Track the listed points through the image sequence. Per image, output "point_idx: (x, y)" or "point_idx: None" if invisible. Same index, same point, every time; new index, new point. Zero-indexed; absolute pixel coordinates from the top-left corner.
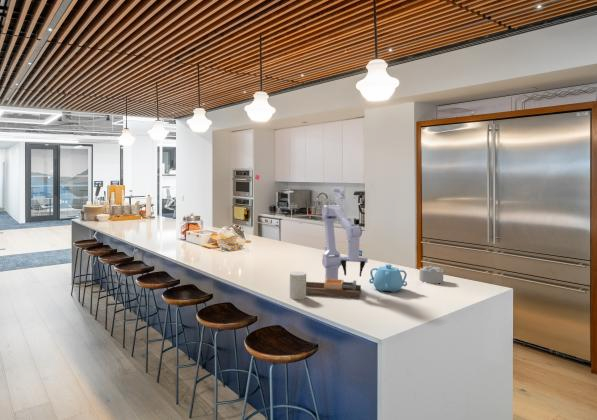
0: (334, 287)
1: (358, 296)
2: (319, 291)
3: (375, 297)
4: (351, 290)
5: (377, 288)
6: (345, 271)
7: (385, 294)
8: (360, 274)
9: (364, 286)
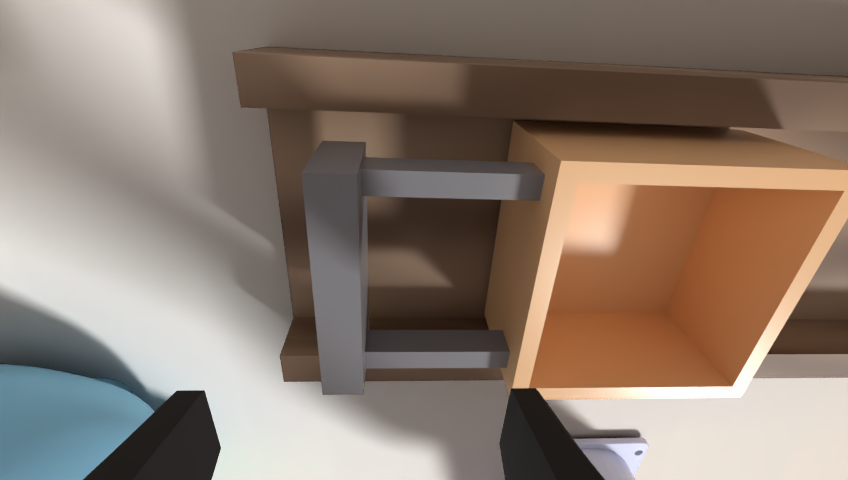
0: (651, 146)
1: (269, 47)
2: (840, 79)
3: (69, 142)
4: (374, 112)
5: (119, 392)
6: (551, 464)
7: (8, 286)
8: (151, 422)
9: (292, 461)
